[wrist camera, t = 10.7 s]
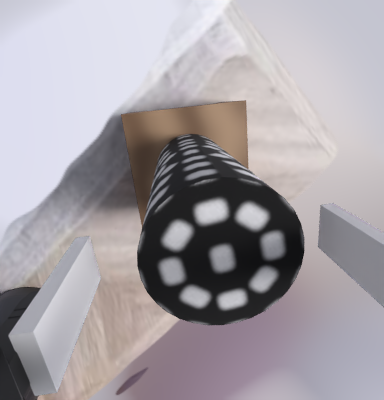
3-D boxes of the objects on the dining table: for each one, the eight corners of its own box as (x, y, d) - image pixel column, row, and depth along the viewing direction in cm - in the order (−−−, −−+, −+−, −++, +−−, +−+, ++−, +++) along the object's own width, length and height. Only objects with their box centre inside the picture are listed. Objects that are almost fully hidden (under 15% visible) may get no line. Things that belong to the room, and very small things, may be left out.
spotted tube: (147, 143, 31) (112, 203, 12) (217, 125, 30) (295, 156, 12) (167, 209, 33) (164, 341, 15) (231, 192, 33) (311, 303, 15)
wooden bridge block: (147, 206, 42) (142, 228, 34) (130, 112, 37) (121, 114, 29) (235, 195, 42) (249, 214, 35) (230, 101, 37) (245, 100, 30)
